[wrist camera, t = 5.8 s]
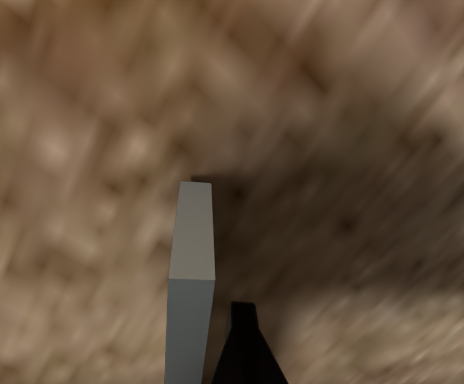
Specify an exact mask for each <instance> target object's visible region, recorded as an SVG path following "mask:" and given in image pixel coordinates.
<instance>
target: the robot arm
mask: <svg viewBox="0 0 464 384" xmlns="http://www.w3.org/2000/svg"><path fill="white" fill-rule="evenodd" d="M211 384H288V382H287V380H286V378H285V376H284V374H283V372H282V370H281V369H280V367H279V365H278V363H277V361H276V359H275V357H274V355H273V353H272V352H271V350H270V348H269V346H268V344H267V342H266V340H265V338H264V337H263V335H262V333H261V331H260V329H259V325H258V318H257V311H256V305H255V304H254V303H253V302H239V301H231V302H230V304H229V309H228V315H227V321H226V337H225V345H224V348H223V350H222V353H221V356H220V359H219V361H218V364H217V367H216V370H215V373H214V375H213V378H212V381H211Z"/></svg>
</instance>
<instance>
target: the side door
mask: <svg viewBox="0 0 464 384" xmlns="http://www.w3.org/2000/svg"><path fill="white" fill-rule="evenodd" d="M214 286H215V261H214V237H213V213H212V189H211V183H201V182H187V181H180V187H179V195H178V203H177V212H176V220H175V228H174V236H173V244H172V252H171V261H170V269H169V277H168V299H167V326H166V352H165V378H164V384H201V380H202V373H203V366H204V359H205V351H206V344H207V337H208V330H209V322H210V315H211V308H212V300H213V293H214Z"/></svg>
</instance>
